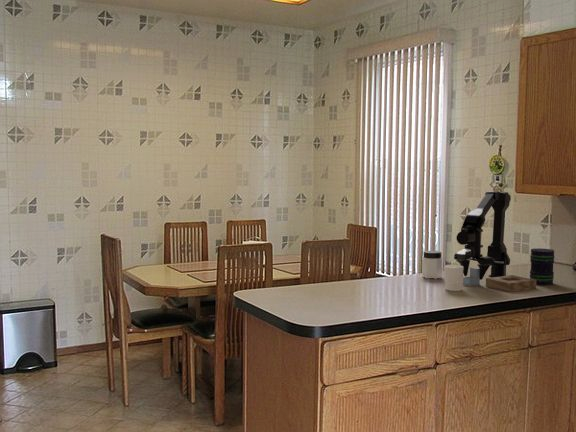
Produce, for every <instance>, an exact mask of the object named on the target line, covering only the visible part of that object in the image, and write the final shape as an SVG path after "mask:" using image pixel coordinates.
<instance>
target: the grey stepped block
mask: <svg viewBox="0 0 576 432" xmlns="http://www.w3.org/2000/svg"><path fill="white" fill-rule="evenodd" d="M480 282H481V280H480V277H479V267H469V276H463V282H462V285H463V286H464V285H465V286H469V287H471V286H472V287H473V286H479V285H481V284H480Z"/></svg>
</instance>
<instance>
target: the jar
mask: <svg viewBox="0 0 576 432" xmlns="http://www.w3.org/2000/svg"><path fill="white" fill-rule="evenodd" d="M442 257H443V256H442V251H439V250H424V251H423V256H422V262H421V264H422V265H421V267H422V268H421V269H422V271H421V276H423V278H424V277H425V278H424V279H427V278H434V279H433V280H438V279H437V278H439V279H443V258H442Z"/></svg>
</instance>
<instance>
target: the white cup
mask: <svg viewBox="0 0 576 432" xmlns="http://www.w3.org/2000/svg"><path fill="white" fill-rule="evenodd" d="M443 268H444V269H443V270H444V273H443V276H444V289H446V291H448V290H449V291H450V292H461V291H462V287H463V277H464V273H463V270H464V266H461V265H460V264H446V265H444V266H443ZM449 291H448V292H449Z"/></svg>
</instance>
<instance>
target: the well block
mask: <svg viewBox="0 0 576 432" xmlns="http://www.w3.org/2000/svg"><path fill="white" fill-rule="evenodd" d="M485 287H486V288H491V289H494V290H495V289H496V290H500V291H503V292H506V293H507V292H508V293H510V292H511V293H513V292H520V291H528V290H534V289H537V285H536V280H534V279H530V277H529V278H528V277H523V276H518V275H514V274H511V275H506V276H501V277H486V278H485Z"/></svg>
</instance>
